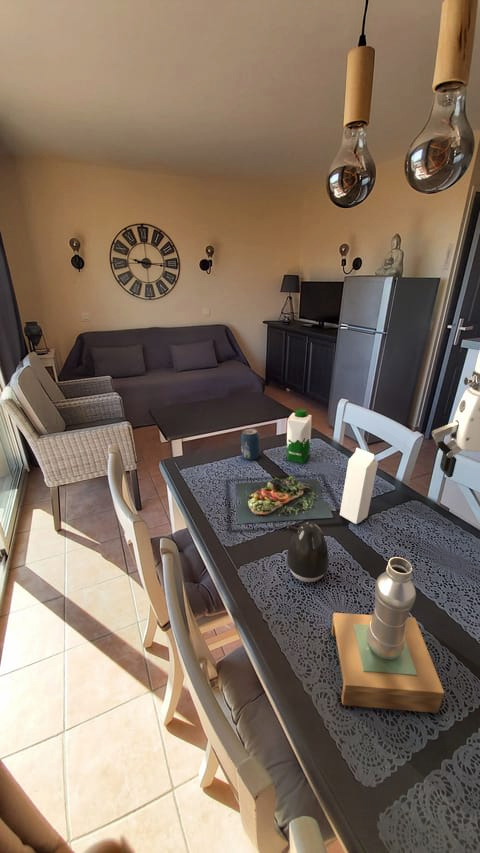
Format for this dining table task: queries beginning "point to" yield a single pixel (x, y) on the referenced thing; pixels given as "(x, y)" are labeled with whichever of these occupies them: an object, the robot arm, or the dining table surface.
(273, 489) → the plated dish
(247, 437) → the soda can
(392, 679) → the wooden block
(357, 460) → the milk
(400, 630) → the silver metal bottle
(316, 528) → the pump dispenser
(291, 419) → the milk carton
